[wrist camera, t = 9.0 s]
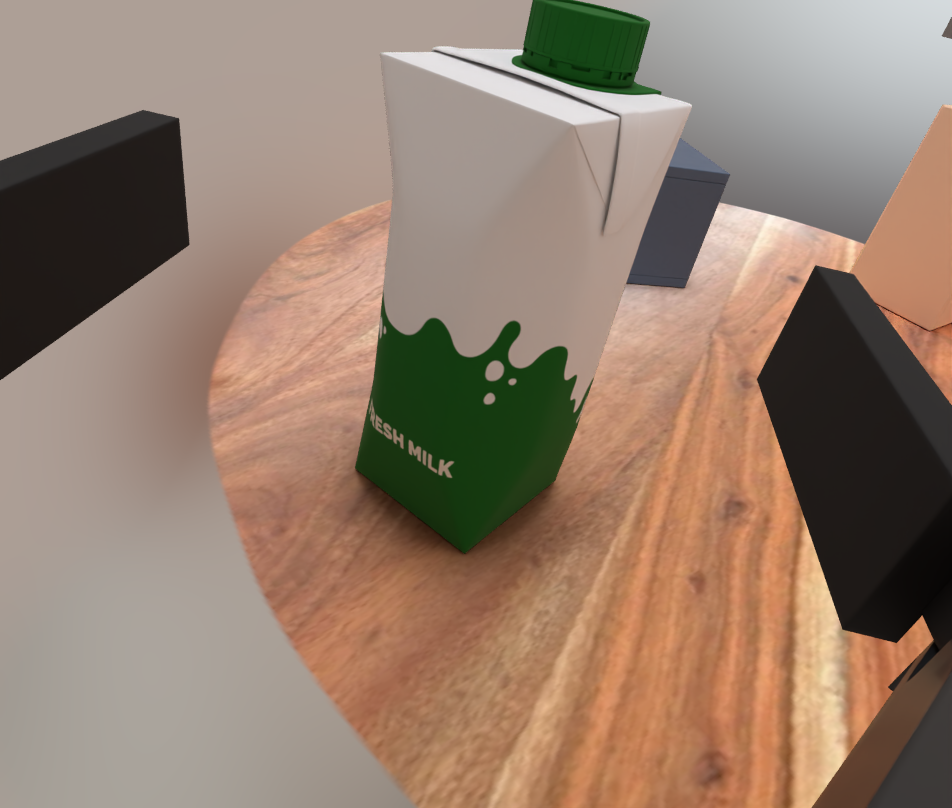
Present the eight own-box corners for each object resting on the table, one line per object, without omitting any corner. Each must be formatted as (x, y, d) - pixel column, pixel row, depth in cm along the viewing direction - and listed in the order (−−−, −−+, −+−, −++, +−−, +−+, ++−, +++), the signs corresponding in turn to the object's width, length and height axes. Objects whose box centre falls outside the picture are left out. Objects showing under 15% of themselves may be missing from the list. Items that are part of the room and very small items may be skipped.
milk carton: (579, 483, 34) (741, 42, 22) (464, 581, 27) (603, 39, 16) (450, 398, 37) (529, -15, 26) (323, 468, 31) (351, -35, 19)
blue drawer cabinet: (519, 274, 52) (548, 149, 47) (487, 211, 62) (508, 102, 56) (684, 287, 56) (730, 174, 50) (630, 227, 66) (663, 125, 60)
